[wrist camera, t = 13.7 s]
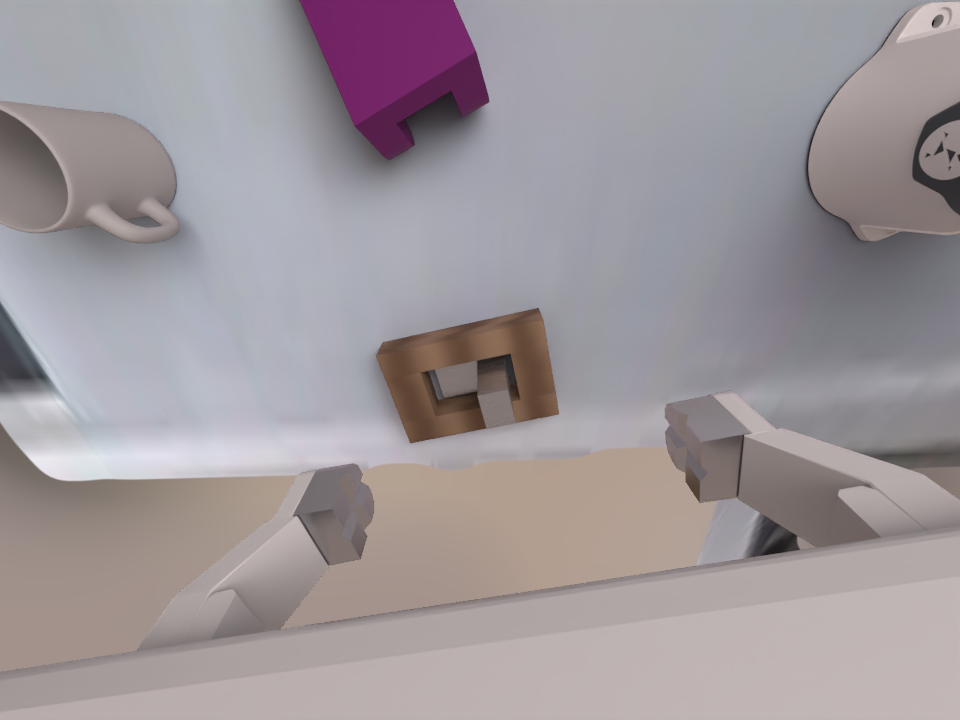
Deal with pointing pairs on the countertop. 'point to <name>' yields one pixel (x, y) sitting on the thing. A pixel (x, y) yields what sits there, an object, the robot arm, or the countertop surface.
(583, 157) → the countertop surface
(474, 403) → the well block
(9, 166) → the mug
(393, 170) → the countertop surface
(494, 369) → the angle bracket
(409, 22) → the mounting bracket
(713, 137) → the countertop surface
